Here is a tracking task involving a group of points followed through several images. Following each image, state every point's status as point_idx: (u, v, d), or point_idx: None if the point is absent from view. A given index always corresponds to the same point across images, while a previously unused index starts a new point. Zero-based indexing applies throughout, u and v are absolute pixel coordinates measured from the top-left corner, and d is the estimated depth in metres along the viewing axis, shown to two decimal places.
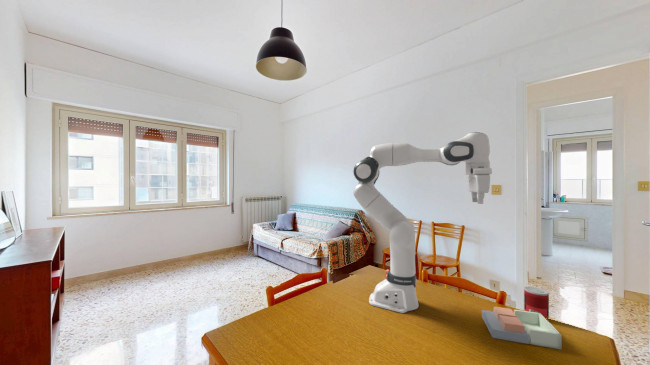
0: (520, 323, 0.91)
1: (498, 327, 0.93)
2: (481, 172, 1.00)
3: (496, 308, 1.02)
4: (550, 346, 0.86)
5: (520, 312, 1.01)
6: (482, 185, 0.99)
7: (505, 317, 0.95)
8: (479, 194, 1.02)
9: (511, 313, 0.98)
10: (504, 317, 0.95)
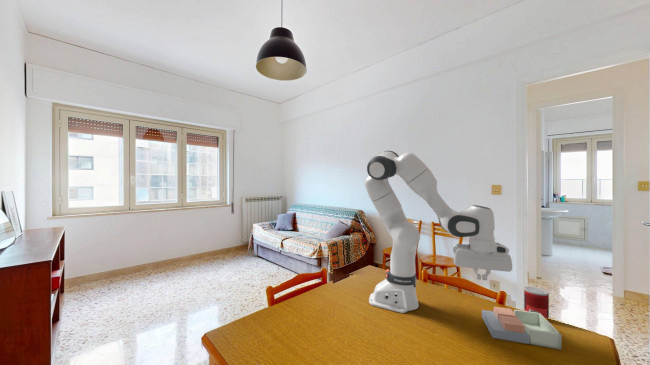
0: (520, 323, 0.91)
1: (498, 327, 0.93)
2: None
3: (496, 308, 1.02)
4: (550, 346, 0.86)
5: (520, 312, 1.01)
6: None
7: (505, 317, 0.95)
8: None
9: (511, 313, 0.98)
10: (504, 317, 0.95)
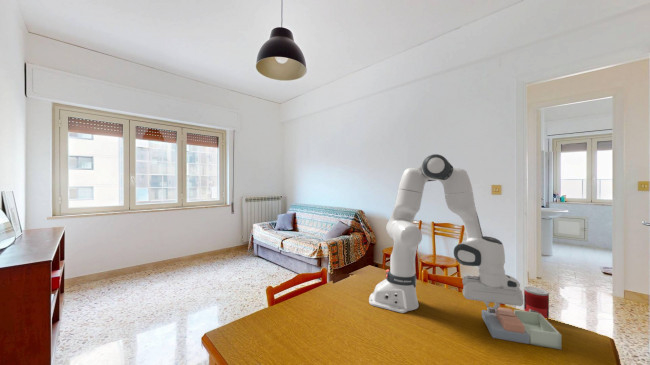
0: (520, 323, 0.91)
1: (498, 327, 0.93)
2: None
3: None
4: (550, 346, 0.86)
5: (520, 312, 1.01)
6: None
7: (505, 317, 0.95)
8: (499, 304, 1.00)
9: (511, 313, 0.98)
10: (504, 317, 0.95)
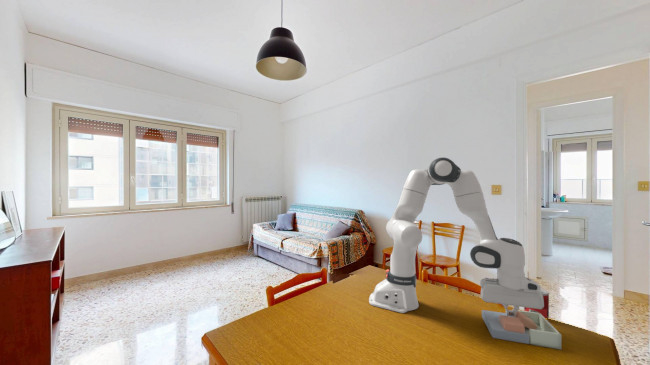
0: (520, 323, 0.91)
1: (498, 327, 0.93)
2: None
3: (517, 311, 1.00)
4: (550, 346, 0.86)
5: None
6: None
7: (505, 317, 0.95)
8: None
9: (532, 322, 0.96)
10: (504, 317, 0.95)
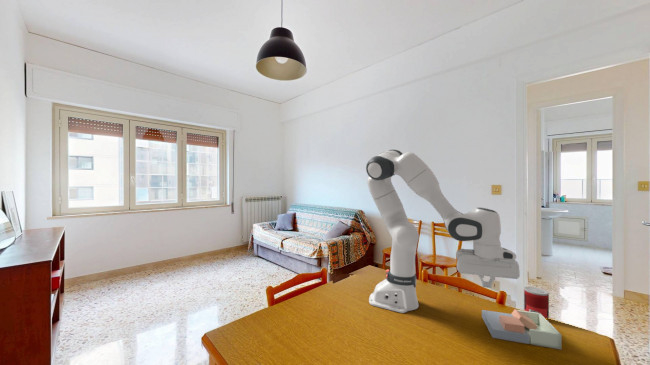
0: (520, 323, 0.91)
1: (498, 327, 0.93)
2: None
3: (517, 311, 1.00)
4: (550, 346, 0.86)
5: None
6: None
7: (505, 317, 0.95)
8: (494, 278, 0.95)
9: (532, 322, 0.96)
10: (504, 317, 0.95)
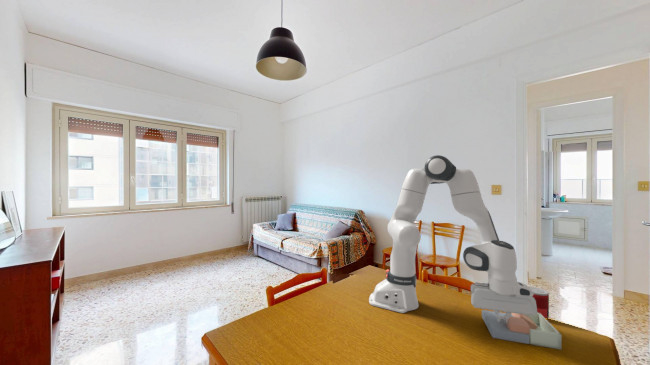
0: (525, 324, 0.91)
1: (498, 327, 0.93)
2: None
3: None
4: (550, 346, 0.86)
5: None
6: None
7: (510, 318, 0.95)
8: (510, 314, 0.93)
9: (532, 322, 0.96)
10: (509, 318, 0.95)
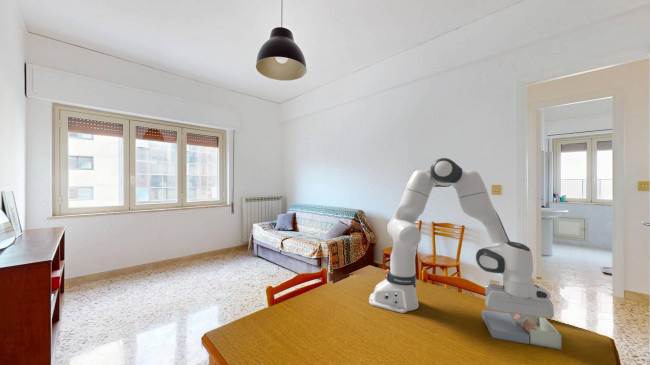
0: None
1: (498, 327, 0.93)
2: None
3: None
4: (550, 346, 0.86)
5: None
6: None
7: (529, 321, 0.93)
8: None
9: (532, 322, 0.96)
10: (528, 320, 0.93)
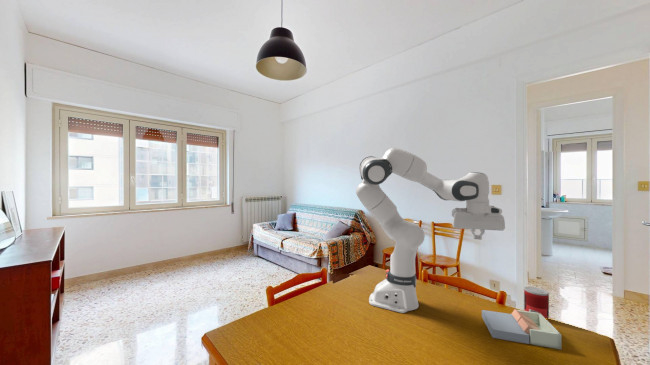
0: None
1: (498, 327, 0.93)
2: None
3: (517, 311, 1.00)
4: (550, 346, 0.86)
5: None
6: None
7: (527, 322, 0.93)
8: None
9: (532, 322, 0.96)
10: (526, 321, 0.93)
